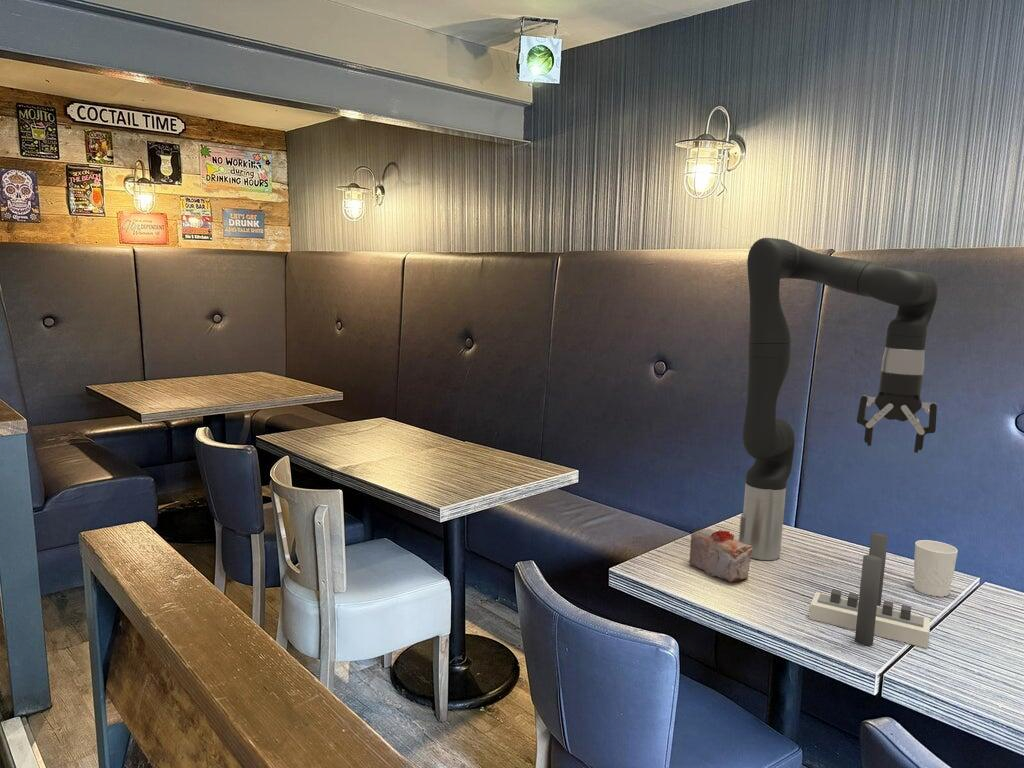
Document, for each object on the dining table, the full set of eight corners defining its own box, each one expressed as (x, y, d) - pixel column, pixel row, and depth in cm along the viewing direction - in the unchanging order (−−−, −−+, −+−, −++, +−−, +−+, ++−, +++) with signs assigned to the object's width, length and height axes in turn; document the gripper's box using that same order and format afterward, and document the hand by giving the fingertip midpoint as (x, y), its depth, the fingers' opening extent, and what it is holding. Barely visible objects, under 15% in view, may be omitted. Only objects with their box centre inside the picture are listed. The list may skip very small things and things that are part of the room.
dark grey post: (853, 642, 129) (862, 558, 127) (855, 636, 132) (864, 553, 130) (872, 647, 128) (881, 562, 126) (873, 640, 130) (882, 557, 128)
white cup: (910, 593, 152) (915, 548, 151) (909, 580, 159) (914, 537, 158) (953, 601, 149) (959, 555, 147) (950, 588, 155) (956, 544, 154)
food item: (755, 580, 157) (759, 537, 155) (732, 588, 152) (736, 543, 151) (706, 559, 168) (709, 519, 166) (683, 566, 163) (686, 525, 162)
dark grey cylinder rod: (862, 612, 142) (870, 535, 140) (863, 606, 144) (871, 531, 142) (879, 616, 140) (887, 538, 138) (880, 610, 143) (888, 534, 141)
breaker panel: (809, 618, 138) (811, 592, 138) (814, 605, 144) (817, 580, 143) (927, 648, 128) (930, 620, 127) (928, 633, 134) (931, 606, 133)
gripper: (861, 368, 144) (852, 446, 147) (942, 376, 137) (932, 457, 140) (864, 366, 151) (856, 440, 153) (942, 372, 144) (932, 450, 146)
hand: (892, 448), depth 146 cm, fingers open, 8 cm apart
